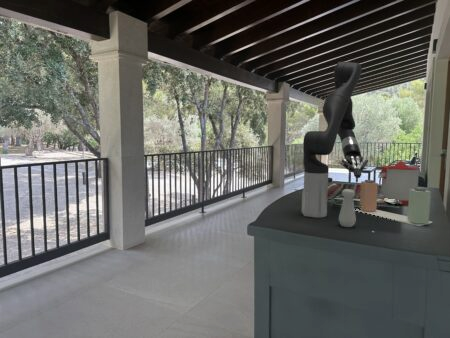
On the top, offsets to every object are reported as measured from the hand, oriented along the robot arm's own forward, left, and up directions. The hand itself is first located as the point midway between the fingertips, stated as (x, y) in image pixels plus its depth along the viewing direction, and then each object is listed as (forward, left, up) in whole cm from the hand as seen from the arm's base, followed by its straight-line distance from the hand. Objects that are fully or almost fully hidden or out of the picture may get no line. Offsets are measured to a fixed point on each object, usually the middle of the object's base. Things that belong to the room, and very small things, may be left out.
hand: (358, 176), depth 155 cm
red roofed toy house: (+20, +6, -13) cm, 25 cm away
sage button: (+11, -31, -13) cm, 35 cm away
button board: (+6, -20, -13) cm, 25 cm away
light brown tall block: (0, -12, -13) cm, 18 cm away
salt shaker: (-16, -35, -13) cm, 41 cm away
